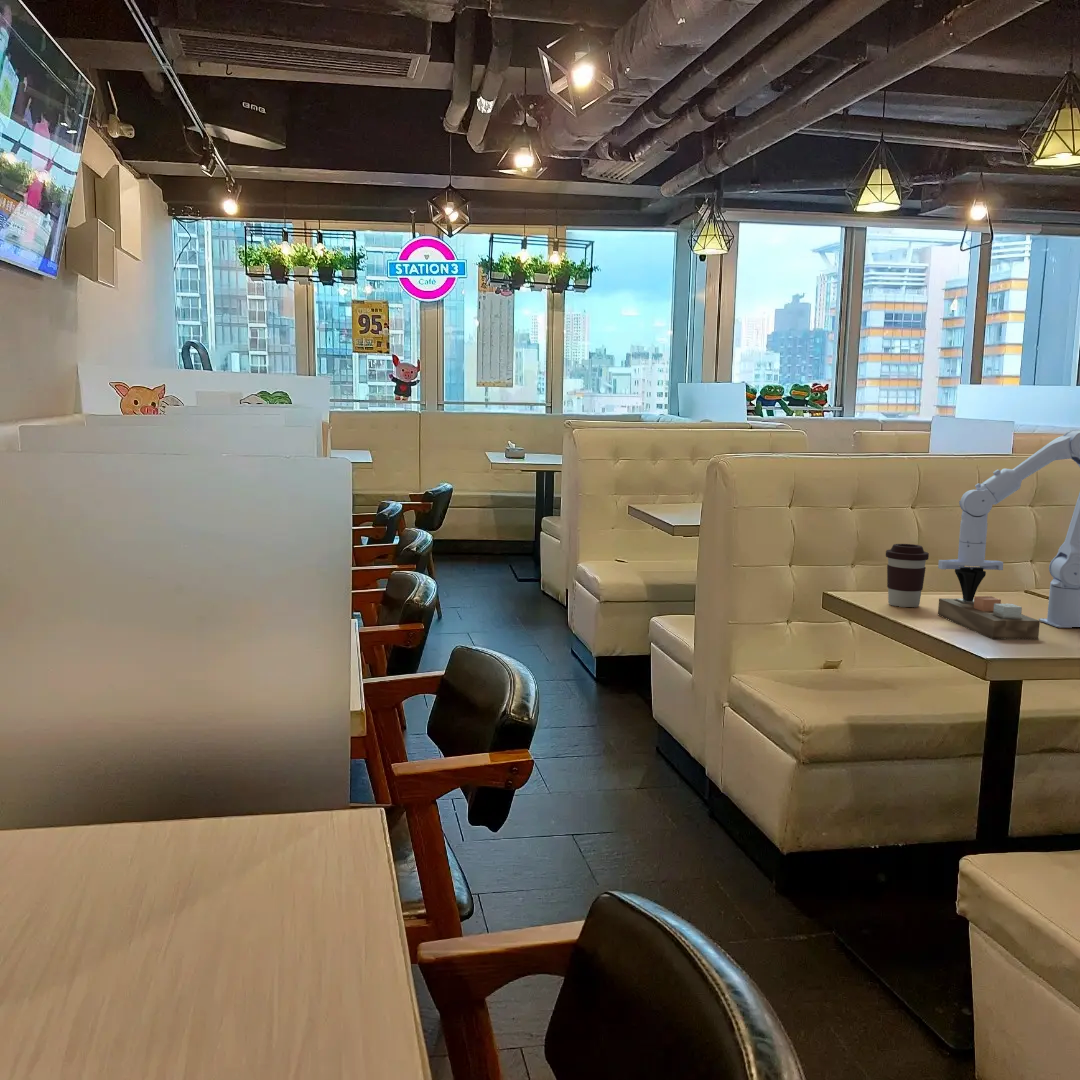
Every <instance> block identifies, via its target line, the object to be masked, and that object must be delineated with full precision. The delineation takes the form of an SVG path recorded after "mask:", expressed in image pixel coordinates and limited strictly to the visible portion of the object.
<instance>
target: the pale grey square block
mask: <svg viewBox="0 0 1080 1080" xmlns="http://www.w3.org/2000/svg"><path fill="white" fill-rule="evenodd" d="M1022 610H1023V607H1022V606H1021V605H1020V606H1019V605H1017V604H1014V603H1001V604H994V611H993V616H996V617H998V618H1001V619H1021V614H1022Z"/></svg>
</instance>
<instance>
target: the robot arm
mask: <svg viewBox="0 0 1080 1080" xmlns="http://www.w3.org/2000/svg"><path fill="white" fill-rule="evenodd" d="M1070 459H1071V460H1073V461H1074V462H1075V463H1076V464H1077V465H1078V467H1079V468H1080V429H1072V430H1069V431H1066V433H1064V434H1063V435H1061V436H1059V437H1056V438H1054V439H1053V440H1051V441H1050V442H1048V443H1046V444H1045V445H1044V446H1042V447H1041V448H1040V449H1038V450H1037V451H1036V452H1035V453H1033V454H1032V455H1030V456H1029V457H1027V458H1026V459H1025V460H1023V461H1022V462H1020V464H1018V465H1016V466H1015V467H1014V468H1012V469H1011V468H1004V467H1003V468H1002V469H1001V470H1000V469H996V470H994V471H993V472H992V474H993V475H991V476H990V477H989V478H987V479H986V480H984V481H983V482H982V483H976V484H975V485H974V487H975V489H970V490H966V492H964V493H963V494H962V496H961V498H960V500H958V501H959V502H958V503H959V508H960V509H961V517H960V518H961V520H960V526H959V538H958V550H957V551H958V553H957V559H956V558H955V559H938V564H937V568H938V569H940V570H954V574H955V575H956V577H957V579H958V582H959V584H960V588H961V595H962V599H963V600H966V601H973V599H974V596H976V592H977V591H978V588H979V586H980V584H981V583H982V581H983V580H984V578H985V577H986V574H987V571H985V570H988V571H989V570H995V571H1004V569H1003V568H1004V561H1001V560H990V559H989V560H985V559H986V549H987V548H986V547H987V534H988V515H989V513H990V512H991V510H992V508H993V505H995V506H996V505H998V504H999V503H1000V502H1003V500H1005V499H1006V498H1008V497H1009V496H1011V495H1013V494H1014V493H1015V492H1017V491H1019V490H1020V489H1021V486H1022V482H1023V480H1025V479H1026V478H1029V476H1031V475H1033V474H1035V473H1036V472H1038V471H1040V470H1041V469H1043V468H1044V467H1046V466H1048V465H1050V464H1052V462H1055V461H1060V460H1070ZM1048 565H1049V566H1048V570H1049V571H1048V572H1049V573H1050V575H1051V577H1052V580H1051V581H1050V585H1049V595H1048V604H1047V614H1046V615H1047V616H1046V618H1038V620H1039V621H1040V622H1041V623H1045V624H1048V625H1050V626H1053V627H1056V628H1061V629H1062V628H1065V629H1066V628H1069V629H1070V628H1072V627H1080V491H1079V493H1078V496H1077V500H1076V502H1075V505H1074V509H1073V513H1072V517H1071V520H1070V522H1069V526H1068V529H1067V532H1066V536H1065V538H1064V541H1063V543H1062V544H1061V545H1060V546H1059V548H1058V550H1057V553H1056V555H1055V556H1054V557H1053V559H1051V561H1050V563H1049V564H1048ZM1072 629H1073V628H1072Z"/></svg>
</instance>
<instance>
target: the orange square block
mask: <svg viewBox="0 0 1080 1080" xmlns="http://www.w3.org/2000/svg"><path fill="white" fill-rule="evenodd" d="M1001 600H1002V599H1000V598H998V597H994V596H988V595H987V596H982V595H980V596H979V595H977V596H976V595H975V596H974V608H975V609H978V610H980V611H994V604H1002V601H1001Z"/></svg>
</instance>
